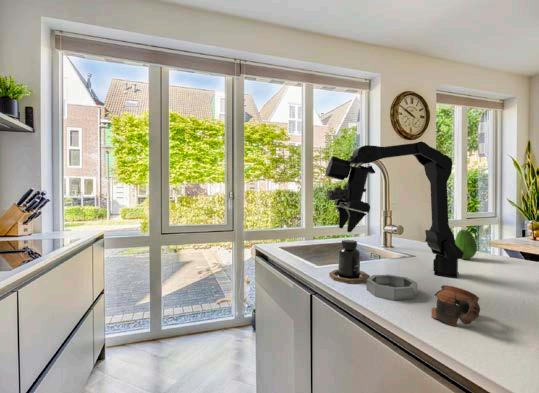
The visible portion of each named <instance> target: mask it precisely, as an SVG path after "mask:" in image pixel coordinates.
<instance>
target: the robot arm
mask: <svg viewBox="0 0 539 393" xmlns="http://www.w3.org/2000/svg"><path fill="white" fill-rule="evenodd" d="M405 156H414V157H415V158H416V161H418V163H419V164H420V165H421V166H423V169H424V172H425V175H426V178H427V179H428V181H429V184H430V207H431V208H430V209H431V226H430V228H429V229H425V230H424V231H425V232H424V234H425V240H424V242H425V243H426V244H427V247H429V248H430V250H431V253H432V254H434V256H435V258H434V259H432V260H433V264H432V265H433V268H432V269H433V270H432V271H433V275H435V276H442V277H448V278H456V279H457V278H458V276H459V275H460V274H459V273H460V272H459V260H463V259H462V256H463V254H464V253H463V252H462V251H461V250H460V249H459V248H458V247H457V246H456V244H455V239H456V238H455V235H454V232H453V231H452V228H451V227H450V224H449V202H448V201H449V200H448V180H449V179H450V176H452V171H453V165H454V164H453V159H452V158H451V157H450V156H449V155H447V154H444V153H443V152H441V151H439V150H438V149H436V148H434V147H432V146H430V145H429V144H427V142H425V141H417V142H413V143H412V142H411V143H404V144H403V143H402V144H396V145H388V146H387V145H386V146H380V145H379V146H378V145H366V144H365V145H362V146H360V147H357V148H355V149H354V151H352V155H351V156H350V157H349V158H347V159H343V158H339V157H337V156H331V157H330V160H329V162H328V164H327V166H326V169H325V177H327V178H332V179H335V180H339V181H344V180H345V179H347V183H346V184H344V185H343V187H341V186H338V187H337V186H335V187H334V188H333V189H331V190H330V189H329V190H326V194H327V195H326V196H327V201H334V207H335V209H336V210H337V211H338V228H339V229H343V228H344V226H345V225H346V224H347V226H346V227H347V228H346V232H347V233H352V231H354V229H355V228H356V226H357V225H358V224H359V223H360V222H361V220H362V219H363V218H364V217H365V216H367V213H368V214H369V213H370V210H371V206H370V204H369V203H368V202H365V201H363V200H362V199H363V194H364V193H367V189H366V188H365V187H366V184H367V179H368V175H373V174H375V173H376V171H375V169H374V168H373V165H368V166H364V165H367V164H370V163H373V162H376V161H379V160H382V159H388V158H389V159H390V158H396V157H397V158H398V157H405ZM353 165H354V166H353ZM355 165H358V166H355Z"/></svg>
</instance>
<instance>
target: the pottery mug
mask: <svg viewBox="0 0 539 393" xmlns="http://www.w3.org/2000/svg"><path fill="white" fill-rule="evenodd" d="M440 288H441V289H439V290H438V291H436V293H435V294H434V296H435V297H436V307H432V308H431V318H432V319H435V320H439V321H441V322H443V323H445V324H448V325H451V326H454V327H457V324H458V321H459V320H460V322H461V323H462V324H463V325H470V324H472V322H473V321H474V320H476V319H478V318H479V316H480V311H481V307H480V303H478V302H479V300H480V298H479V296H477V295H476V294H475V293H473V292H471V291H469V290H466V289H463V288H460V287H457V286H453V285H445V284H443V285H441V287H440Z"/></svg>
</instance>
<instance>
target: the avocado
mask: <svg viewBox="0 0 539 393" xmlns="http://www.w3.org/2000/svg"><path fill="white" fill-rule="evenodd" d="M455 236H456V237H455V238H454V239H455V244H456V246H457V247H458V248H459V249H460V250H461V251H462V252H463V253H464V254H463V256H462V259H461V260H469V259H471V258H473V257H475V255H476V253H477V251H478V247H477V246H478V245H477V243H476V240H475V238H474V236H473V234H472V233H471V232H470V231H469V230H467V229H460V230H459V231H458V232H457V234H456V235H455Z"/></svg>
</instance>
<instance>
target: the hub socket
mask: <svg viewBox="0 0 539 393" xmlns="http://www.w3.org/2000/svg"><path fill="white" fill-rule="evenodd" d="M366 291H367V292H369V293H370V294H372V295H373V296H374V297H377V298H381V299H387V300H392V301H406V300H408V301H409V300H414V299H415V297H416V296H417V295H418V282H417V281H415V280H413V279H410V278H408V277H405V276H400V275H393V274H373V275H370V277H369V278H368V279H367V281H366Z"/></svg>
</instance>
